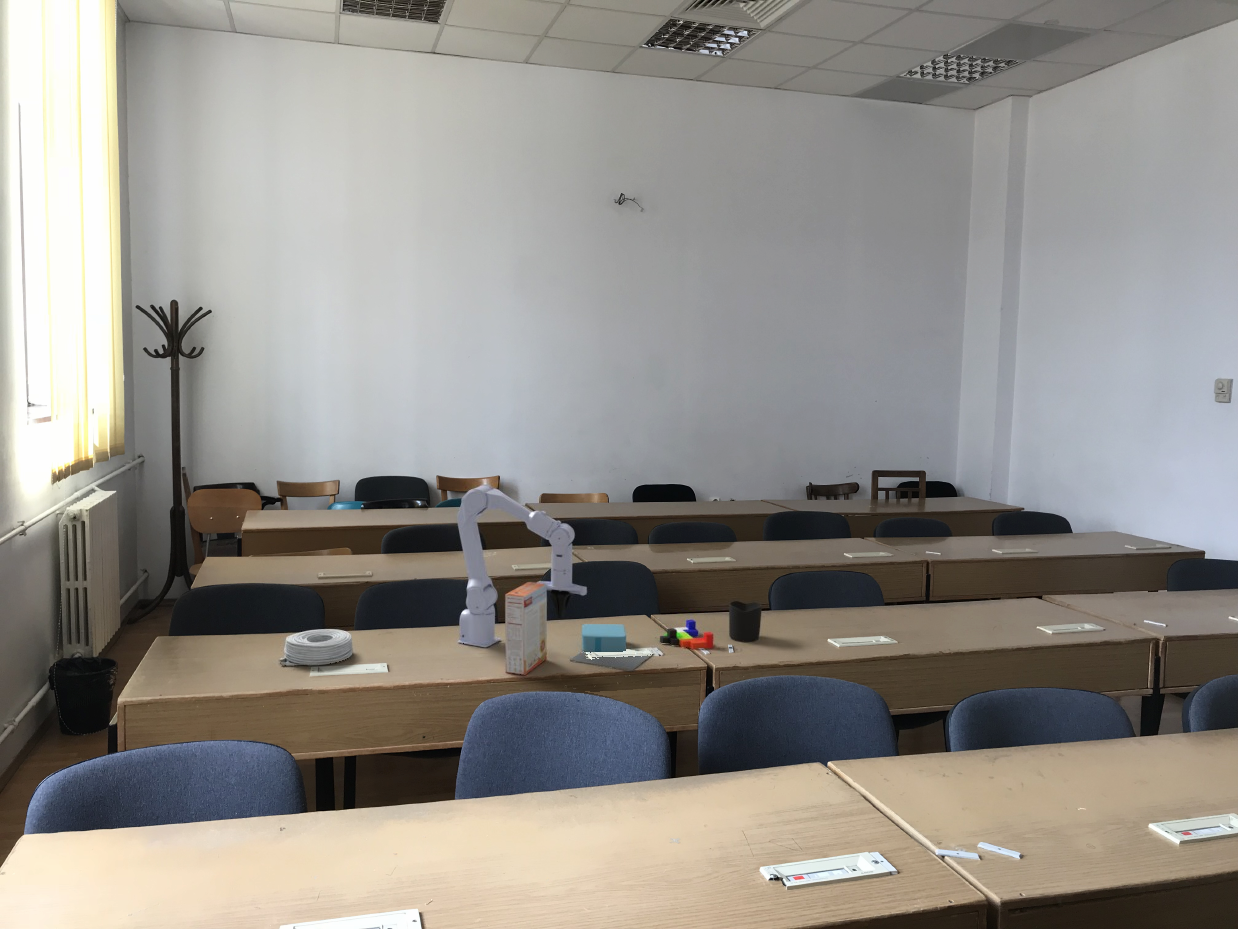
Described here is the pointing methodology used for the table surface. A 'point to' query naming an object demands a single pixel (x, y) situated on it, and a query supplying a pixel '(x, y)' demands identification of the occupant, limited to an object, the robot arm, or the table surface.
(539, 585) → the cracker box
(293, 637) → the cable
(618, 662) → the mat
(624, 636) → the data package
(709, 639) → the building blocks
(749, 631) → the pen holder
